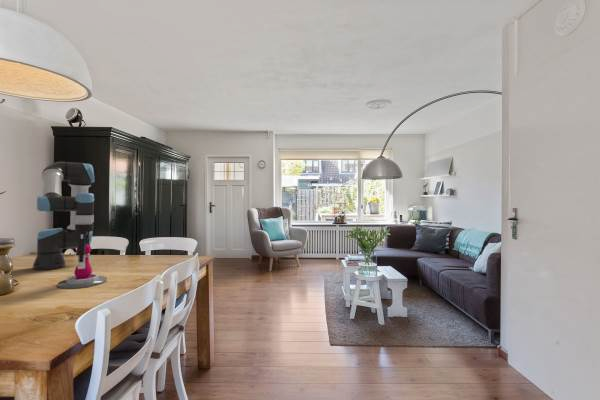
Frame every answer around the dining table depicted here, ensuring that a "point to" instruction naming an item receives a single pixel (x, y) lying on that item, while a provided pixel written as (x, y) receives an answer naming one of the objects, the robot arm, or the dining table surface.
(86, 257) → the pepper mill
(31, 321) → the dining table surface
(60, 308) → the dining table surface
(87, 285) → the ring seat
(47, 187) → the robot arm
